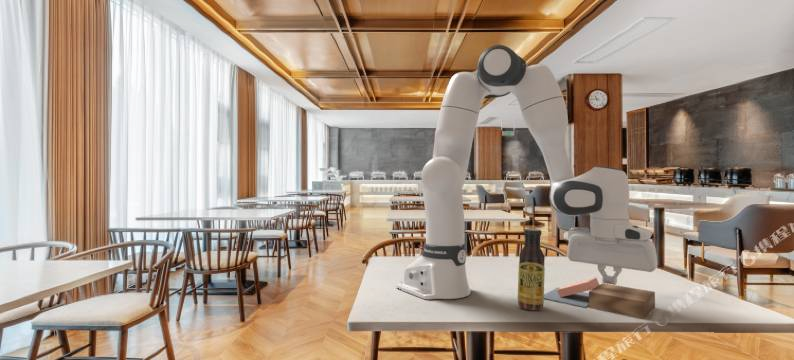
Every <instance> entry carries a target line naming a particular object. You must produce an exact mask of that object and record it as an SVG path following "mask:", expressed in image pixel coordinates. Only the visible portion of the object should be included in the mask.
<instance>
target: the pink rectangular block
mask: <svg viewBox="0 0 794 360" xmlns="http://www.w3.org/2000/svg"><path fill="white" fill-rule="evenodd" d="M599 285H600V283H599V281H598V278H597V277H594V278H590V279H585V280H581V281H579V282H575V283H570V284H567V285H563V286H562V287H559V288H560V289H558V290H557V291H558V294H559V296H560V297H564V296H568V295H572V294H576V293H580V292H589V291H591V290H592V289H594V288H596V287H597V286H599Z"/></svg>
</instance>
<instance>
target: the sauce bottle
mask: <svg viewBox="0 0 794 360" xmlns="http://www.w3.org/2000/svg"><path fill="white" fill-rule="evenodd" d="M523 230H524V231H523V234H524V243H523V245H524V246H523V247H522V249H521V251H520V252H519V255H518V256H519V258H518V259H519V263H518V271H517V273H518V276H517V277H518V278H517V306H518V307H519V308H521V309H523V310H527V311H540V310H542V309H543V307H544V303H545V301H544V300H545V299H544V294H545V272H546V271H545V270H546V269H545V259H546V258H545V253H544V252H543V250H542V249H541V236H542V230H541V229H538V228H524V229H523Z"/></svg>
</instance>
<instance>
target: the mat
mask: <svg viewBox="0 0 794 360" xmlns="http://www.w3.org/2000/svg"><path fill="white" fill-rule="evenodd" d="M560 288H561V287H556V288H554V289H552V290H550V291H548V292H546V293H544V300H545V301H546V300H547V301H551V302H556V303H559V304H560V303H561V304H565V305H570V306H575V307H580V308H584V309H587V308H588V307H589V292H586V291H584V292H580V293H576V294H572V295H568V296H564V297H560V296H559V294H558V291H557V290H558V289H560Z"/></svg>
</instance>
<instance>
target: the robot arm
mask: <svg viewBox="0 0 794 360" xmlns="http://www.w3.org/2000/svg"><path fill="white" fill-rule="evenodd" d="M510 94H512V95H514V97H515V98H516V100H517V102H518V104H519V106H520V107H519V108H520V111H521V114H522V117H523V120H524V122H525V125H526V127H527V129H528V131H529V132H530V135H531V136H532V139H534V141H535V142H536V144H537V146H538V148H539V149H540V152H541V154H542V157H543V160H544V163H545V167H546V170H547V173H548V177H549V181H550V187H549V191H548V193H549V194H548V199H549V203H550V205H551V207H552V208H553V209H554V211H556V212H557V213H560V214H562V215H565V216H570V217H578V216H581V215H588V214H589V219H590V221H589V227H579V226H573V227H572V228H569V230H568V232H567V240H568V245H567V254H566V255H567V256H566V257H567V258H568V260H569V261H570V262H576V263H584V264H589V265H590V264H591V265H597V270H598V272H599V273H600V275H601V276H602V278H601V279H602V280H601V281H602V283H604V284H610V285H616V286H617V284H618V277H619V275H620V274H621V272H623V269H626V270H627V269H628V270H634V271H641V272H648V273H652V272H654V271H655V270H656V269H658V255H657V249H656V246H655V243H654V242H653V241H652V240H651V237H652V231H651V230H650V229H647V228H644V227H641V226H639V225H635V224H633V223H630V215H629V212H628V210H629V209H628V208H629V204H630V186H629V178H628V176H627V173H626V172H625V171H624V170H622V169H621V168H616V167H613V166H603V165H602V166H601V165H598V166H597V165H596V166H594V167H592V168H591V169H590V170H588V171H586V172H584V173H582V174H580V175H577V176H575V175H574V173H573V170H572V166H571V162H570V159H569V155H568V153H567V148H566V135H567V131H568V125H569V119H568V110H567V105H566V102H565V99H564V95H563V93H562V90H561V88H560V85H559V83H558V80H557V79H556V77H555V76H554V74H553V72H552V70H551V69H550V67H549V66H547V65H546V64H539V63H537V64H532V65H528V66H527V62H526V60H525V59H523V58H522V57H521V56H519V54H517V53H516V52H515V51H514V50H513V49H511V48H510V47H508V46H506V45H502V44H496V45H491V46H489V47H488V48H486V49H485V50H484V51H483V52H482V53H481V55H480V56H479V59H478V61H477V66H476V70H474V71H471V72H470V71H460V72H457V73H455V74H454V75H453V76H451V78H450V80H449V82H448V83H447V86H446V89H445V93H444V95H443V98H442V102H441V105H440V110H439V114H438V119H437V124H436V126H435V127H436V128H435V132H434V141H433V142H434V143H433V144H434V145H433V152H432V158H431V159H429V160H428V161H427V162H426V163H425V164H424V166H423V168H422V170H421V176H420V177H421V185H422V196H423V205H424V211H425V212H424V213H425V243H423V244H419V245H418V247H419V248H418V250H421V254H420V256H418V257H417V258H416V259H415V260H413V261H412V262H411V263H409V264H408V265H407V266H406V267H405V269H404V274H403V275H404V276H403V280H401V281H399V282H398V283H396V286H395V287H397V288H396V289H398V288H399V289H398V290H400V289H401V291H403V292H406V293H407V294H411V295H412V296H416V297H418V298H419V299H423V300H437V299H439V300H453V299H462V298H465V297H468V296H470V294H471V293H472V292H471V288H470V285H469V281H468V275H467V269H466V261H467V246H466V245H467V243H465V213H464V203H463V202H464V200H463V187H464V185H465V182H466V178H467V173H468V169H469V164H470V158H471V152H472V146H473V141H474V136H475V132H476V128H477V123H478V120H479V115H480V110H481V107H482V104H483V103H482V102H483V101H484V99H485V100H486V99H493V98H501V97H506V96H508V95H510ZM607 267H610V268H611V267H612V268H613V270H612V271H613V272H615V273H614V274H613V275H608V274H607V271H606V270H605V269H606V268H607Z"/></svg>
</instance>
